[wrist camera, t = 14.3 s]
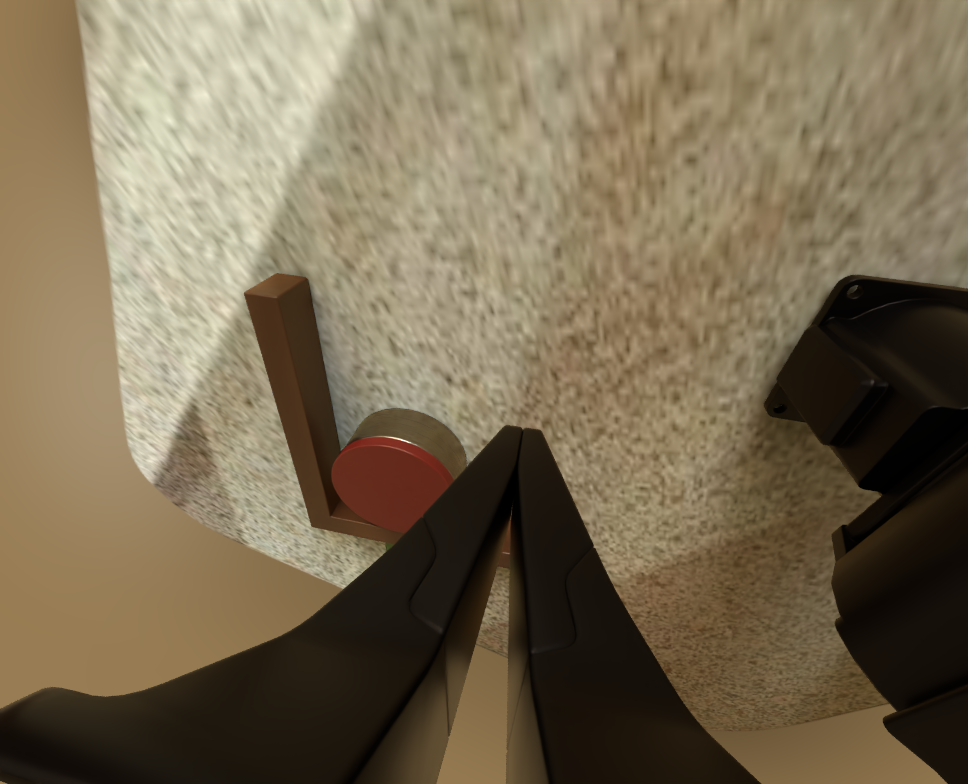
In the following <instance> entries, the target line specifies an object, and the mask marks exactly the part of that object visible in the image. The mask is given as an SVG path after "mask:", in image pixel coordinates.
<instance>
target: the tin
mask: <svg viewBox="0 0 968 784" xmlns="http://www.w3.org/2000/svg"><path fill="white" fill-rule="evenodd" d="M465 468H466V456H465V452H464V449H463V447H462V445H461V443H460V441H459V440H458V438H457V437H456V436H455V435H454V433H453V432H452V431H451V430H450V429H448V428H447V427H446V426H445V425H444V424H442V423H441V422H439V421H438V420H436V419H434V418H432V417H430V416H428V415H426V414H423V413H420V412H417V411H413V410H409V409H400V408H392V409H385V410H381V411H378V412H375V413H373V414H371V415H370V416H368V417H367V418H365V419H364V420H363V421H362V423H361V424H360V425H359V427H358V428H357V430H356V431H355V433H354V434H353V436H352V437H351V439H350V441H349V442H348V444H347V445H346V447H345V448H344V449H343V450H342V451H341V453H340V454H339V455H338V457H337V458H336V460H335V462H334V464H333V467H332V482H333V485H334V488H335V490H336V492H337V494H338V495H339V497H340V498H341V500H342V501H343V502H344V503H345V504H346V505H347V506H348V507H349V508H350V509H351V510H352V511H354V512H355V513H356V514H357V515H359V516H360V517H362V518H364V519H365V520H367V521H369V522H371V523H373V524H375V525H377V526H380V527H382V528H385V529H389V530H392V531H397V532H403V533H406V532H407V531H408V530H409V529H410V528H411V527H412V525H413V524H414V523H415V522H416V521H417V520H418V519H419V518H420V517H422V515H423V514H424V513H425V512H426V510H427V509H428V508H429V507H430V506H431V505H432V504H433V503H434V502H435V501H436V500H437V499H438V497H439V496H440V495H441V494H442V493H443V492H444V491H445V490H446V489H447V488H448V487H449V486H450V484H451V483H452V482H453V481H454V480H455V479H456V478H457V477H458V476H459V475H460V474H461V472H462V471H463V470H464V469H465Z"/></svg>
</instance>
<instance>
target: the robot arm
mask: <svg viewBox="0 0 968 784" xmlns="http://www.w3.org/2000/svg"><path fill="white" fill-rule="evenodd" d="M855 285H858V287H857V289H856V290H855V291H854V292H853V293H850V294H847V291H848V290H849V289H850V288H851V287H853V286H855ZM779 404H782V405H781V406H780V407H778V408H774V407H775V406H777V405H779ZM764 408H765V410H766V411H767V413H768V414H769V415H770V416H772V417H775V418H781V419H788V420H794V421H800V422H806V423H807V424H808V426H809V427H810V429H811V430H812V432H813V433H814V434H815V436H816V437H817V439H818V440H819V441H820V443H821V444H823V445H828V446H830V448H831V449H832V450H833V452H834V453H835V454H836V456H837V457H838V458H839V460H840V461H841V463H842V464H843V465H844V467H845V468H846V469H847V471H848V472H849V474H850V475H851V476H852V478H853V479H854V480H855V482H856V483H857V485H858V486H859V487H860V488H862V489H865V490H871V491H876V492H878V493H879V494H880V496H881V497H880V498H879V499H878V500H876V501H875V502H874V503H873V504H872V505H871V506H869V507H868V508H867V509H866V510H865V511H864V512H862V513H861V514H860V515H859V516H858V517H856V518H855V519H854V520H853V521H852V522H851V523H849V524H848V525H842V526H841V527H839V528H838V529H837V530H836V531H835V532H834V533H832V542H833V548H834V554H835V560H836V562H835V566H834V571H833V576H832V581H831V584H832V588H833V592H834V596H835V599H836V603H837V607H838V611H839V614H840V617H839V618H837V619H836V621H835V626H836V629H837V631H838V634H839V635H840V637H841V639H842V640H843V642H844V644H845V646H846V647H847V649H848V651H849V652H850V654H851V656H852V657H853V659H854V661H855V662H856V663H857V665H858V666H859V667H860V669H861V670H862V671H863V673H864V674H865V675H866V677H867V678H868V679H869V680H870V682H871V683H872V684H873V686H874V687H875V688H876V690H877V691H878V692H879V693H880V694H881V695H882V696H883V697H884V698H885V699H886V700H887V701H888V702H889V703H890V704H891V706H892V707H893V708H894V709H895V710H896V711H897V712H895V713H892V714H890V715H888V716H885V717H884V718H883V723H884V726H885V728H886V729H887V730H888V732H889V733H890V734H892V735H893V736H894V737H895V738H896V739H897V740H899V741H900V742H901V743H902V744H903V745H905V746H906V747H907V748H908V749H909V750H911V751H912V752H913V753H914V754H916V755H917V756H918V757H919V758H920V759H922V760H923V761H924V762H925V763H926V764H927V765H929V766H930V767H931V768H932V769H934V770H935V771H936V772H937V773H938V774H939V775H940V776H941V777H942V778H943V779H944V780H945V781H946V782H947V783H948V784H968V289H967V288H960V287H951V286H944V285H936V284H928V283H920V282H912V281H904V280H896V279H888V278H880V277H872V276H864V275H850V276H847V277H845V278H843V279H842V280H840V281H839V282H838V283H837V284H836V286H835V287H834V289H833V290H832V292H831V294H830V295H829V297H828V299H827V300H826V302H825V303H824V305H823V307H822V308H821V310H820V312H819V313H818V315H817V317H816V318H815V320H814V322H813V323H812V325H811V326H810V327H809V328H808V329H806V330H805V332H804V334H803V335H802V337H801V339H800V340H799V342H798V344H797V345H796V347H795V348H794V350H793V352H792V353H791V355H790V357H789V358H788V360H787V362H786V363H785V365H784V367H783V368H782V370H781V372H780V373H779V375H778V377H777V383H776V384H775V386H774V388H773V389H772V391H771V392H770V394H769V396H768V397H767V399H766V401H765V403H764ZM512 505H513V506H512ZM511 512H512V515H511ZM510 518H511V527H510V581H509V641H508V702H507V759H506V760H507V761H506V784H761V783H760V782H759V781H758V780H757V779H756V778H755V777H754V776H753V775H751V774H750V773H749V772H748V771H747V770H746V769H745V768H744V767H743V766H742V765H741V764H740V763H739V762H738V761H737V760H736V759H735V758H734V757H733V756H731V755H730V754H729V753H728V752H727V751H726V750H725V749H724V748H723V747H722V746H721V745H720V744H719V743H718V742H717V741H716V740H715V739H714V738H712V737H711V735H710V734H709V733H708V732H707V731H706V730H705V729H704V728H703V727H702V726H701V725H700V723H699V722H698V721H697V720H696V719H695V717H694V716H693V715H692V714H691V712H690V711H689V710H688V708H687V707H686V706H685V704H684V703H683V701H682V700H681V699H680V697H679V695H678V694H677V692H676V691H675V689H674V687H673V686H672V684H671V683H670V681H669V679H668V678H667V676H666V674H665V673H664V671H663V669H662V668H661V666H660V664H659V663H658V661H657V659H656V658H655V656H654V654H653V653H652V651H651V649H650V648H649V646H648V644H647V643H646V641H645V639H644V638H643V636H642V635H641V633H640V631H639V630H638V628H637V626H636V625H635V623H634V621H633V620H632V618H631V616H630V615H629V613H628V611H627V609H626V608H625V606H624V604H623V602H622V601H621V599H620V597H619V595H618V594H617V592H616V590H615V588H614V586H613V584H612V582H611V580H610V578H609V576H608V574H607V572H606V570H605V568H604V566H603V564H602V562H601V559H600V557H599V555H598V553H597V551H596V549H595V548H593V547H594V545H593V542H592V540H591V538H590V536H589V534H588V531H587V529H586V527H585V525H584V523H583V520H582V518H581V516H580V514H579V512H578V509H577V507H576V505H575V503H574V501H573V498H572V496H571V494H570V492H569V490H568V487H567V485H566V483H565V481H564V479H563V477H562V474H561V472H560V470H559V468H558V466H557V463H556V461H555V459H554V457H553V455H552V452H551V450H550V448H549V446H548V444H547V441H546V439H545V437H544V435H543V433H542V431H541V430H538V429H531V428H524V429H522V428H521V427H517V426H510V425H506V426H504V427H503V428H502V429H501V430H500V431H499V432H498V433H497V434H496V436H495V437H494V438H493V439H492V440H491V441H490V442H489V443H488V444H487V445H486V446H485V448H484V449H483V450H482V451H481V452H480V453H479V454H478V455H477V456H476V457H475V458H474V459H473V461H472V462H471V463H470V464H469V465H468V466H467V467H466V468H465V469H464V470H463V471H462V472H461V474H460V475H459V476H458V477H457V478H456V479H455V480H454V481H453V482H452V483H451V484H450V486H449V487H448V488H447V489H446V490H445V491H444V492H443V493H442V494H441V495H440V496H439V497H438V499H437V500H436V501H435V502H434V503H433V504H432V505H431V506H430V507H429V508H428V509H427V510H426V512H425V513H424V514H423V515H422V517H420V518H419V519H418V520H417V521H416V522H415V523H414V524H413V525H412V527H411V528H410V529H409V530H408V531H407V532H406V533H405V534H404V535H403V536H402V537H401V538H400V539H399V540H398V541H397V542H396V543H395V544H394V545H393V546H392V547H391V548H390V549H389V550H388V551H387V552H385V553H384V554H383V555H382V556H381V557H380V558H379V559H378V560H377V561H375V562H374V563H373V564H372V565H371V566H370V567H369V568H368V569H366V570H365V571H364V572H363V573H362V574H361V575H359V576H358V577H357V578H356V579H355V580H354V581H352V582H351V583H350V584H349V585H348V586H347V587H345V588H344V589H343V590H342V591H341V592H340V593H338V594H337V595H336V596H335V597H334V598H333V599H331V600H330V601H329V602H328V603H327V604H326V605H324V606H323V607H322V608H321V609H320V610H319V611H317V612H316V613H315V614H314V615H313V616H311V617H310V618H309V619H307V620H306V621H304V622H303V623H302V624H300V625H299V626H297V627H295V628H294V629H292V630H291V631H289V632H287V633H285V634H283V635H282V636H279V637H277V638H275V639H272V640H270V641H267V642H265V643H262V644H260V645H258V646H255V647H252V648H250V649H247V650H245V651H242V652H240V653H237V654H235V655H232V656H230V657H228V658H225V659H222V660H220V661H217V662H215V663H213V664H210V665H208V666H205V667H203V668H200V669H198V670H195V671H193V672H190V673H188V674H185V675H183V676H180V677H178V678H175V679H173V680H170V681H168V682H165V683H163V684H160V685H157V686H154V687H151V688H148V689H146V690H143V691H139V692H134V693H130V694H126V695H119V696H109V697H102V696H92V695H89V694H85V693H80V692H77V691H73V690H68V689H64V688H56V687H50V688H44V689H41V690H39V691H37V692H34V693H32V694H30V695H28V696H26V697H24V698H22V699H20V700H17V701H15V702H13V703H11V704H9V705H7V706H5V707H3V708H1V709H0V781H2V782H5V783H7V784H436V782H437V779H438V775H439V772H440V768H441V764H442V761H443V758H444V754H445V750H446V747H447V743H448V737H449V736H450V733H451V729H452V725H453V722H454V718H455V715H456V711H457V707H458V704H459V700H460V697H461V693H462V690H463V686H464V683H465V679H466V675H467V672H468V669H469V665H470V662H471V658H472V654H473V651H474V647H475V644H476V640H477V637H478V633H479V630H480V626H481V623H482V619H483V616H484V612H485V608H486V605H487V601H488V598H489V594H490V591H491V587H492V584H493V580H494V577H495V573H496V569H497V566H498V562H499V559H500V555H501V552H502V548H503V545H504V541H505V538H506V534H507V530H508V526H509V522H510Z"/></svg>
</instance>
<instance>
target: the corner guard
mask: <svg viewBox="0 0 968 784" xmlns="http://www.w3.org/2000/svg"><path fill="white" fill-rule="evenodd" d="M244 296H245V299H246V302H247V306H248V309H249V313H250V316H251V320H252V323H253V326H254V330H255V333H256V337H257V340H258V344H259V347H260V350H261V354H262V357H263V361H264V364H265V368H266V371H267V374H268V378H269V381H270V385H271V388H272V392H273V395H274V398H275V402H276V405H277V409H278V412H279V416H280V419H281V422H282V426H283V429H284V433H285V436H286V440H287V443H288V446H289V450H290V453H291V457H292V460H293V464H294V467H295V470H296V474H297V477H298V481H299V484H300V488H301V491H302V494H303V498H304V501H305V505H306V508H307V512H308V516H309V519H310V523H311V526H312V527H315V528H319V529H324V530H329V531H334V532H338V533H343V534H348V535H353V536H357V537H362V538H367V539H372V540H376V541H381V542H386V543H390V544H395V543H396V542H397V541H398V540H399V539H400V538H401V537H402V536H403V535H404V534H405V533H403V532H397V531H392V530H389V529H385V528H382V527H380V526H377V525H375V524H373V523H371V522H369V521H367V520H365V519H364V518H362V517H360V516H359V515H357V514H356V513H355V512H354V511H352V510H351V509H350V508H349V507H348V506H347V505H346V504H345V503H344V502H343V501H342V500H341V498H340V497H339V495H338V494H337V492H336V490H335V488H334V485H333V482H332V467H333V464H334V462H335V460H336V458H337V457H338V455H339V454H340V447H339V442H338V437H337V431H336V426H335V421H334V416H333V410H332V405H331V400H330V395H329V389H328V384H327V379H326V374H325V368H324V363H323V358H322V353H321V347H320V342H319V337H318V331H317V326H316V321H315V316H314V310H313V305H312V300H311V295H310V289H309V284H308V279H307V278H306V277H300V276H293V275H286V274H279V273H277V274H275V275H273V276H271V277H270V278H268V279H266V280H264V281H263V282H261V283H259V284H258V285H256V286H254V287H252V288H251V289H249V290H247V291H246V292H244ZM510 527H511V520H510V522H509V526H508V530H507V534H506V538H505V541H504V545H503V548H502V552H501V555H500V559H499V562H498V566H500V567H504V568H509V569H510Z"/></svg>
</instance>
